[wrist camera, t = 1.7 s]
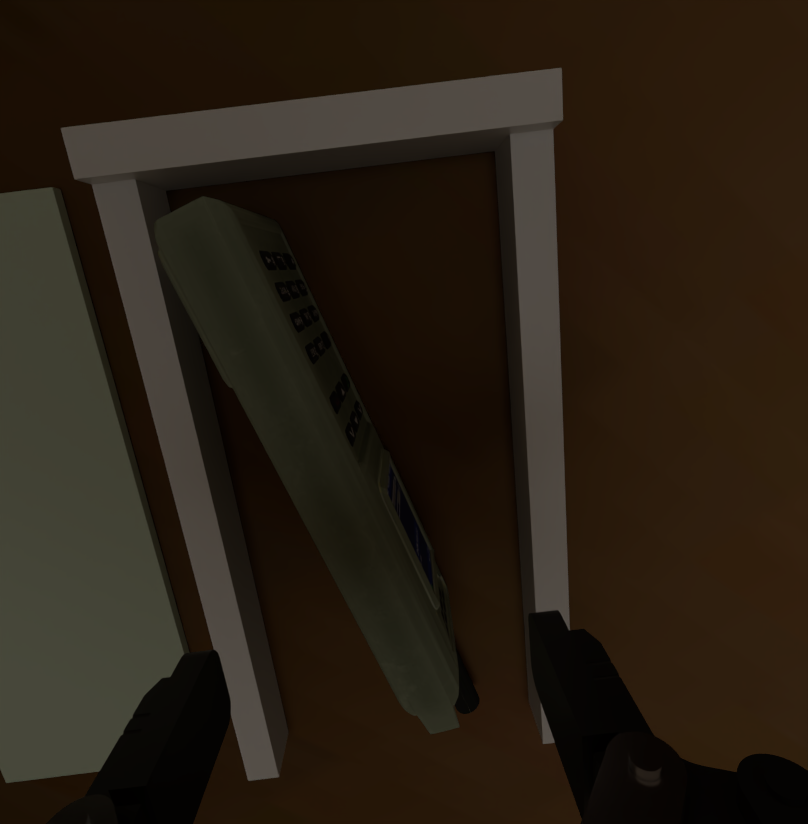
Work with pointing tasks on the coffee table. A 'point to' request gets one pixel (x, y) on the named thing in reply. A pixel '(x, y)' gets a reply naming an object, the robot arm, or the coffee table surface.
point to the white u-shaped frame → (182, 354)
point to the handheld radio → (319, 443)
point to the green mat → (68, 517)
